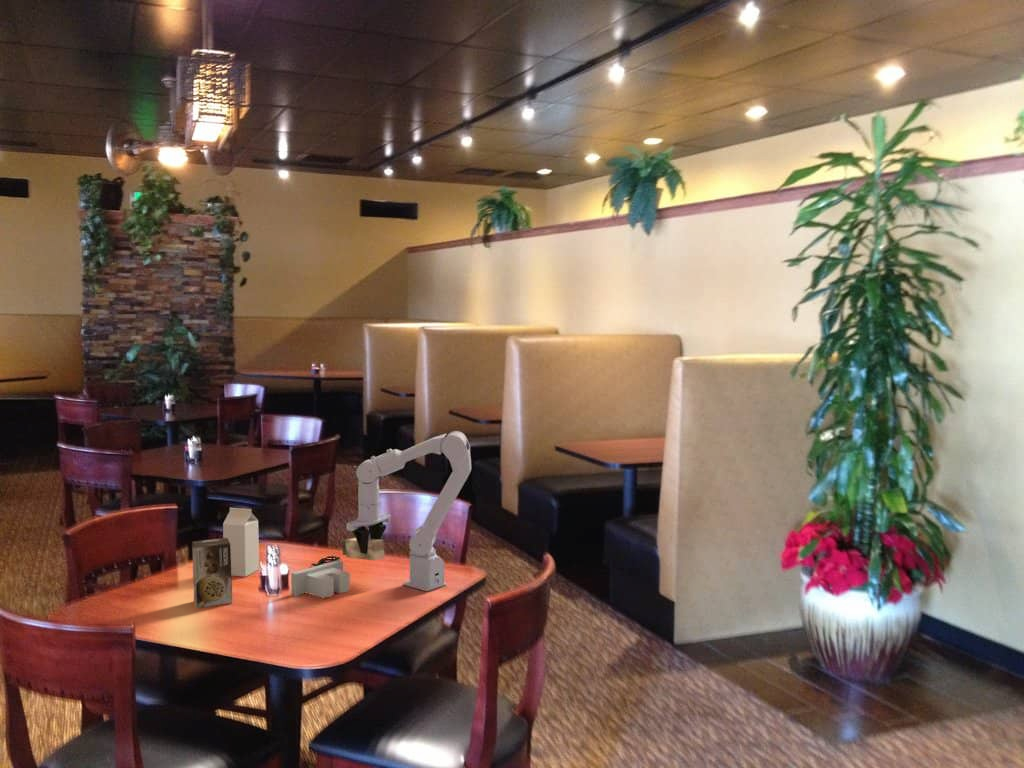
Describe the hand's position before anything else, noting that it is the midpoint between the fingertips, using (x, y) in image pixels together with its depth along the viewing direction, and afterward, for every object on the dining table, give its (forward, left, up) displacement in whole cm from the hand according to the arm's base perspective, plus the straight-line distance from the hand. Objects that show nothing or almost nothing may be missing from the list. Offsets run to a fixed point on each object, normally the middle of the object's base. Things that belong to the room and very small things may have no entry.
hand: (369, 551), depth 245 cm
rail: (+3, 0, -2) cm, 4 cm away
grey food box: (+19, +37, -9) cm, 43 cm away
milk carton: (+36, +17, -9) cm, 41 cm away
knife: (+21, +1, -10) cm, 23 cm away
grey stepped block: (+3, +12, -9) cm, 15 cm away
